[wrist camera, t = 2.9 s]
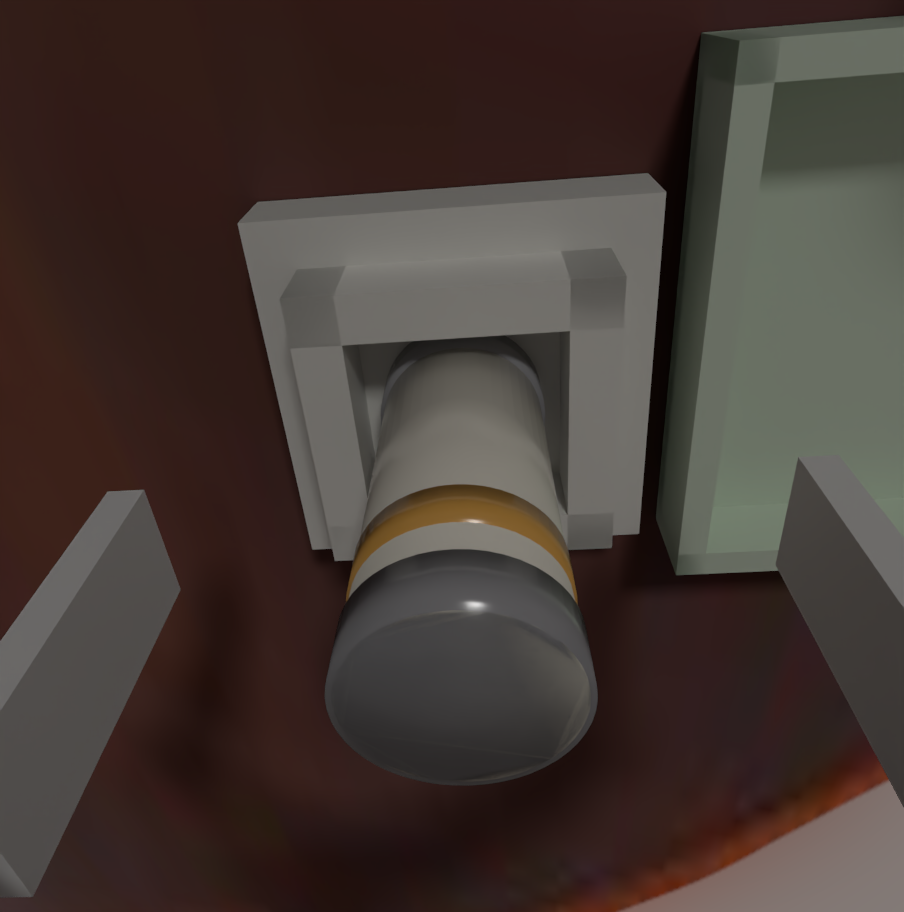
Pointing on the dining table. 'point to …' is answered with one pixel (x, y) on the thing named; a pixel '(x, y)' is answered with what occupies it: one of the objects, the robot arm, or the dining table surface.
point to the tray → (786, 286)
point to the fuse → (462, 580)
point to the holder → (464, 327)
